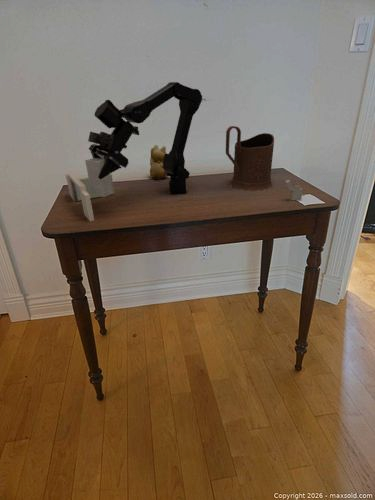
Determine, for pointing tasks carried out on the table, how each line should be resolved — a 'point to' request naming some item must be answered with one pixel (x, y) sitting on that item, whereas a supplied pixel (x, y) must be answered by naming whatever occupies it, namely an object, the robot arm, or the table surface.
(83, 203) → the wall frame
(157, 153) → the decorative figurine
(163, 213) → the table surface
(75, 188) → the door
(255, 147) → the brown pitcher
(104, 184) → the skincare box
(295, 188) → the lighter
